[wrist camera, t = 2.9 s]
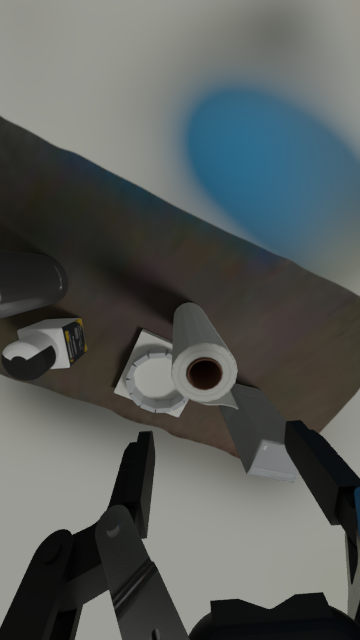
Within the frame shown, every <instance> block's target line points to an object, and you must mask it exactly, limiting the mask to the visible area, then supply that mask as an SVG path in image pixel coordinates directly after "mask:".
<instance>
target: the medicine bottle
mask: <svg viewBox="0 0 360 640" xmlns="http://www.w3.org/2000/svg"><path fill="white" fill-rule="evenodd" d="M17 333H18V337H19V340H18V341H16V342H14V343H12V344H9V345H8V346H7V347H6V348H5V349H4V351H3V353H2V364H3V367H4V368H5V370H6V371H7V372H8V373H9V374H10V375H11V376H13V377H15V378H17V379H20V380H34V379H37V378H39V377H40V376H41V375H43V374H44V373H45V372H46V371H48V370H49V369H55V368H69V367H70V366H71V365H72V364H73V363H74V362H76V361H77V360H78V359H79V358H80V357H81V356H82V355H83V354H84V353H85V352H86V351H87V347H86V341H85V336H84V330H83V325H82V319H81V318H65V319H45V320H43V321H40V322H38V323H35V324H32V325H30V326H27V327H25V328H22V329H19V330H18V331H17Z"/></svg>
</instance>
